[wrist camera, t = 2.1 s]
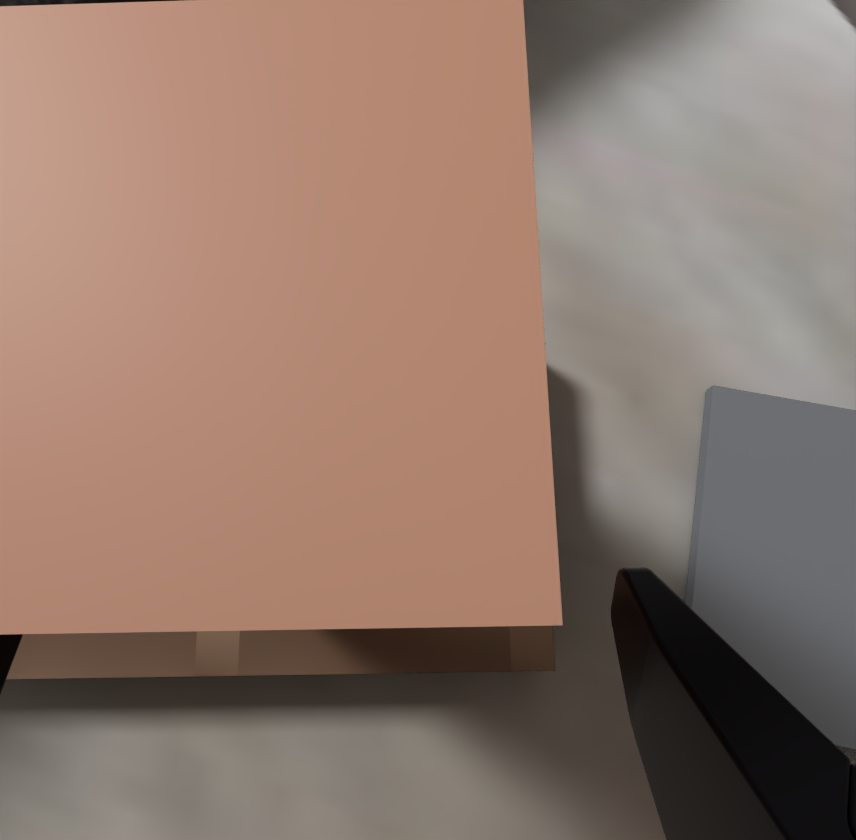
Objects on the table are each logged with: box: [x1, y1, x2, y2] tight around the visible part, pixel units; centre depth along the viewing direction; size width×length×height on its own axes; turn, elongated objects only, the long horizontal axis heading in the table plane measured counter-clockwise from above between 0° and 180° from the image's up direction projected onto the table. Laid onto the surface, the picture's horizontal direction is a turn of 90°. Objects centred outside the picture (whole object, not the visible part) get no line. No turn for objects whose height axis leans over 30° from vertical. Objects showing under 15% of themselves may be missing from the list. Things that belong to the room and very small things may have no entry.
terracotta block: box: [0, 0, 563, 635], centre depth 13 cm, size 6×6×16 cm
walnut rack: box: [6, 626, 555, 679], centre depth 20 cm, size 10×19×2 cm, turn 91°
